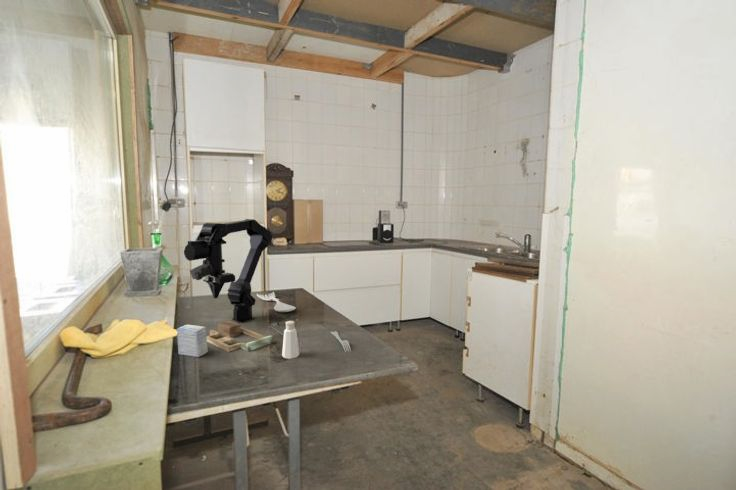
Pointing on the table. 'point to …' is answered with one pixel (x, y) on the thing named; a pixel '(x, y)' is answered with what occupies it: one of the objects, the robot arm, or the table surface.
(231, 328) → the block
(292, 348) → the salt shaker
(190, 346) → the medicine box
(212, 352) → the table surface
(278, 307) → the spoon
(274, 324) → the wrench
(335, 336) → the fork
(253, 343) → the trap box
